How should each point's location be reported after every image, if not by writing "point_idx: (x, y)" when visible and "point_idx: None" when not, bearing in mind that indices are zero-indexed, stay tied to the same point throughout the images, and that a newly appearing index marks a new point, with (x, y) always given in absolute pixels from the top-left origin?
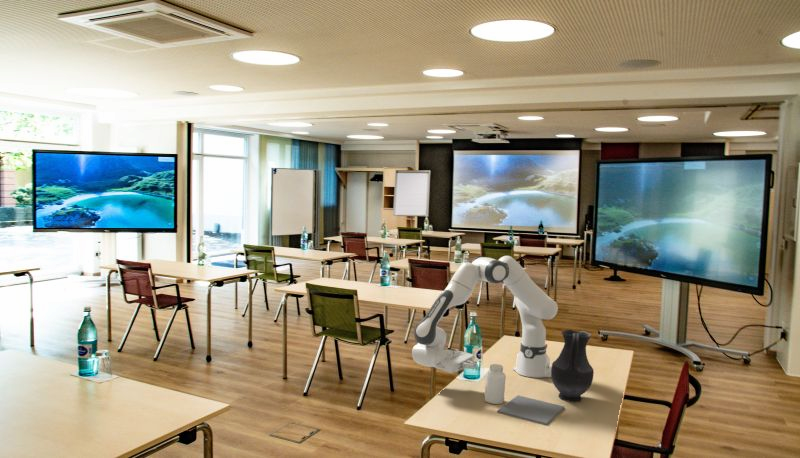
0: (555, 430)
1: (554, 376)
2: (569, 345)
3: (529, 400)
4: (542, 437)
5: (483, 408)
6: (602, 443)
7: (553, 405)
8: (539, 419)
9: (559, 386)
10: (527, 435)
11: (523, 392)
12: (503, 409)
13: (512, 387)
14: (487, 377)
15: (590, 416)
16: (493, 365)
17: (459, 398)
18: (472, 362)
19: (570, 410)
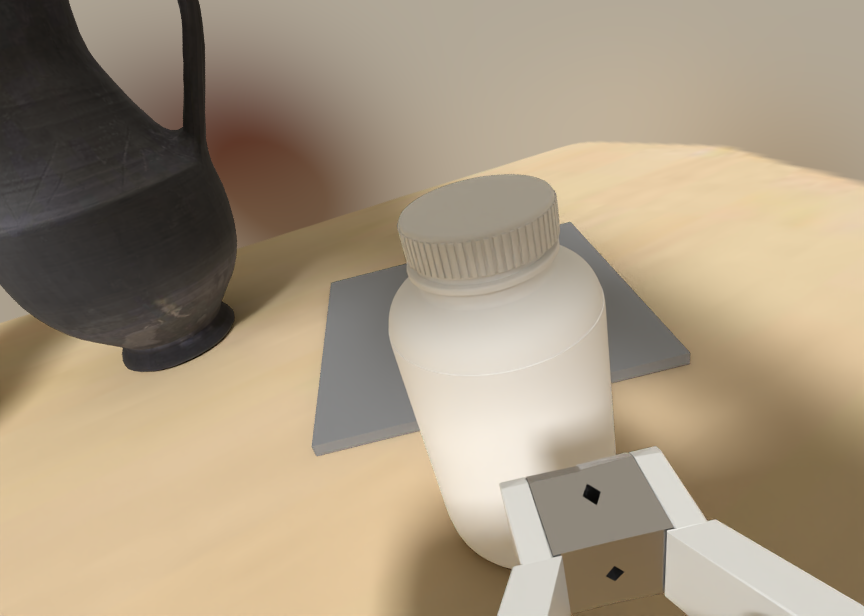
0: (582, 206)
1: (184, 242)
2: (60, 35)
3: (360, 368)
4: (685, 188)
5: (748, 444)
6: (538, 158)
7: (351, 298)
8: (564, 241)
9: (221, 270)
10: (736, 201)
11: (193, 489)
12: (633, 347)
13: (94, 612)
14: (603, 330)
15: (357, 237)
16: (489, 213)
17: None
18: (518, 568)
19: (342, 274)
